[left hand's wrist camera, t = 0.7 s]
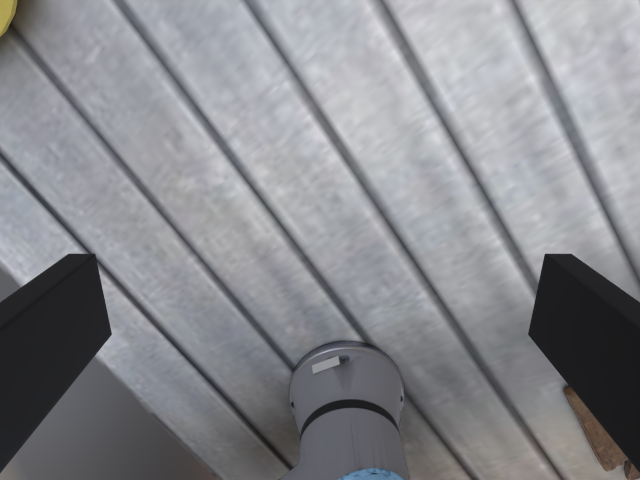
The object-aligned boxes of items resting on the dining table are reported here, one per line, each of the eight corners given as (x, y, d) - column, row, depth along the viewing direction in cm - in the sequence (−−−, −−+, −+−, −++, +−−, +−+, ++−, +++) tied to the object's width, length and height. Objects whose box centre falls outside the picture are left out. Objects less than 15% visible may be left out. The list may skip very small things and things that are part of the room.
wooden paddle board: (608, 481, 64) (674, 455, 62) (615, 491, 63) (683, 465, 61) (547, 362, 56) (622, 328, 54) (554, 371, 54) (631, 336, 53)
